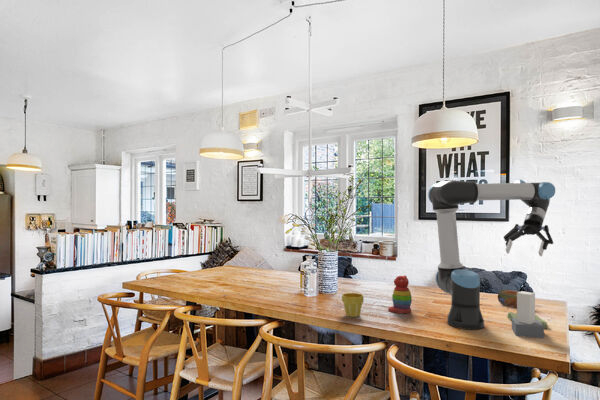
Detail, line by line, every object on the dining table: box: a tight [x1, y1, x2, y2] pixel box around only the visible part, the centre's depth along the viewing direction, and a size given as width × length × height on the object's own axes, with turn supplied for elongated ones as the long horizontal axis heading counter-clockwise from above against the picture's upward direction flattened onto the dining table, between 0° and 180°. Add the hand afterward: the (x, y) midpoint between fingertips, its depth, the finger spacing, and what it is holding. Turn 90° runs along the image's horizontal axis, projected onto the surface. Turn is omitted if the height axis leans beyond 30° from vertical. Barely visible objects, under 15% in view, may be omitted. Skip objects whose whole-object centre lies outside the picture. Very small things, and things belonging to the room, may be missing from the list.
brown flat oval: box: [497, 289, 521, 308], centre depth 208 cm, size 15×3×8 cm, turn 47°
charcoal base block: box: [511, 318, 545, 339], centre depth 165 cm, size 10×10×5 cm
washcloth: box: [506, 311, 549, 329], centre depth 180 cm, size 13×18×3 cm
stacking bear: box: [388, 275, 412, 314], centre depth 199 cm, size 11×10×18 cm
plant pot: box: [341, 292, 364, 318], centre depth 191 cm, size 10×10×10 cm
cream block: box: [516, 290, 536, 324], centre depth 165 cm, size 5×5×12 cm
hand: (523, 253), depth 178 cm, fingers open, 13 cm apart
